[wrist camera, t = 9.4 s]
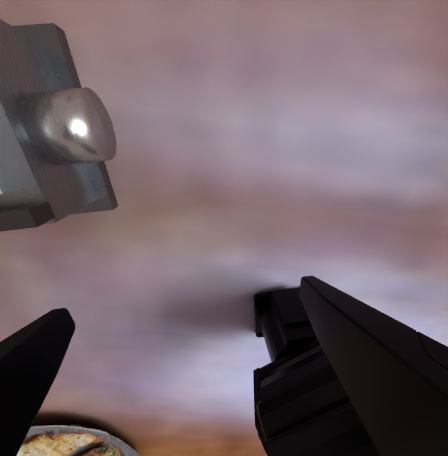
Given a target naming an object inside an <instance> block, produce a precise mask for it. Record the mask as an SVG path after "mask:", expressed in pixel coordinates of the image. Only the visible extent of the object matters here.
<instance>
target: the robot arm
mask: <svg viewBox="0 0 448 456" xmlns="http://www.w3.org/2000/svg"><path fill="white" fill-rule="evenodd" d="M258 298H259V299H258ZM254 314H255V333H256V336H257V337H264V339H265V342H266V345H267V349H268V352H269V355H270V359H271V363H269V364H267V365H265V366H263V367H262V368H260V369H259V368H257V369H255V370H254V371H253V372H254V407H255V426H256V429H257V431H258V436H259V438H260V440H261V442H262V445H263V447H264V450H265V452H266V454H267V455H268V456H448V347H447V346H445V345H443V344H441V343H439V342H437V341H435V340H433V339H431V338H430V337H428V336H426V335H424V334H422V333H420V332H416V330H414V329H412V328H410V327H409V326H407V325H405V324H403V323H401V322H399V321H397V320H395V319H393V318H392V317H390V316H388V315H386V314H384V313H382V312H380V311H378V310H376V309H374V308H373V307H371V306H369V305H367V304H365V303H363V302H361V301H359V300H357V299H356V298H354V297H352V296H350V295H348V294H346V293H344V292H342V291H340V290H338V289H337V288H335V287H333V286H331V285H329V284H327V283H325V282H323V281H321V280H320V279H318V278H316V277H314V276H305V277H302V278H301V284H300V288H297V289H290V290H282V291H275V292H267V293H260V294H256V295H255V296H254ZM74 331H75V322H74V321H73V319H72V317H71V315H70V313H69V311H68V310H67V309H66V308H60V309H54V310H51V311H50V312H48V313H46V314H45V315H43V316H41V317H40V318H38V319H37V320H35V321H33V322H32V323H30V324H29V325H27V326H25V327H24V328H22V329H20V330H19V331H17V332H16V333H14V334H12V335H11V336H9V337H7V338H6V339H4V340H3V341H1V342H0V456H17V454H18V452H19V450H20V448H21V446H22V444H23V442H24V440H25V438H26V436H27V434H28V432H29V430H30V428H31V426H32V424H33V422H34V420H35V418H36V416H37V414H38V412H39V410H40V408H41V406H42V404H43V402H44V400H45V398H46V396H47V394H48V392H49V390H50V388H51V386H52V384H53V382H54V380H55V377H56V375H57V373H58V371H59V368H60V366H61V364H62V361H63V359H64V356H65V354H66V351H67V349H68V346H69V343H70V341H71V338H72V336H73V333H74Z"/></svg>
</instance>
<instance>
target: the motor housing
mask: <svg viewBox="0 0 448 456" xmlns="http://www.w3.org/2000/svg"><path fill="white" fill-rule="evenodd" d="M115 153H116V138H115V133H114V129H113V125H112V122H111V119H110V117H109V114H108V112H107V110H106V108H105V106H104V104H103V103H102V101H101V100H100V98H99V97H98V96H97V94H96V93H95V92H94V91H93V90H91V89H89V88H81V85H80V82H79V78H78V75H77V72H76V69H75V65H74V62H73V59H72V56H71V52H70V49H69V46H68V43H67V40H66V36H65V33H64V31H63V30H62V29H61V28H59V27H58V26H57V25H55V24H54V23H50V24H36V25H23V26H11V25H9V24H7V23H6V22H4V21H2V20H0V189H1V191H2V193H3V194H1V195H0V231H7V230H15V229H24V228H33V227H38V226H40V225H42V224H48V223H55V222H57V221H59V220H61V219H62V218H64V217H66V216H68V215H70V214H77V213H86V212H95V211H104V210H113V209H115V208H116V207H117V206H118V205H117V201H116V198H115V195H114V192H113V188H112V185H111V182H110V179H109V176H108V172H107V169H106V166H105V163H104V161H106V160H112V159H113V158H114V156H115Z"/></svg>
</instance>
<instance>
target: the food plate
mask: <svg viewBox="0 0 448 456" xmlns="http://www.w3.org/2000/svg"><path fill="white" fill-rule="evenodd" d="M97 435H98V436H99V437H100V438H102V439H103V440H106V441H109V442H111V444H113V445H114V446H115V447H116V448H118V449H119V450H120V454H121V456H140V454H138V453H137V451H135V450H134V449H133V448H130V447H129V445H128V444H127V445H126V444H125V443H124V442H122V441H123V439H122V441H121V440H119V439H117V437H116V438H115V437H114V436H112V435H110V434H108V433H107V432H105V431H101V430H98V429H97V430H96V429H90V428H88V429H87V428H86V427H85V426H82V427H81V426H80V425H78V423H77V424H70V425H69V426H66V425H65V426H63V425H60V426H59V425H58V426H57V425H46V426H31V428H30V430H29V432H28V434H27V436H26V438H25V440H24V442H23V444H22V446H21V448H20V450H19V452H18V454H17V456H114V454H115V452H116V451H114V450H113V446H112V445H111V444H110V443H107V442H102V443H101V442H100V443H98V444H94V445H93V446H88V445H89V444H88V443H90V442H92V441H95V440H96V437H97ZM84 445H85V446H84ZM81 446H83V447H81ZM87 446H88V447H87ZM117 455H119V454H117Z"/></svg>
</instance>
